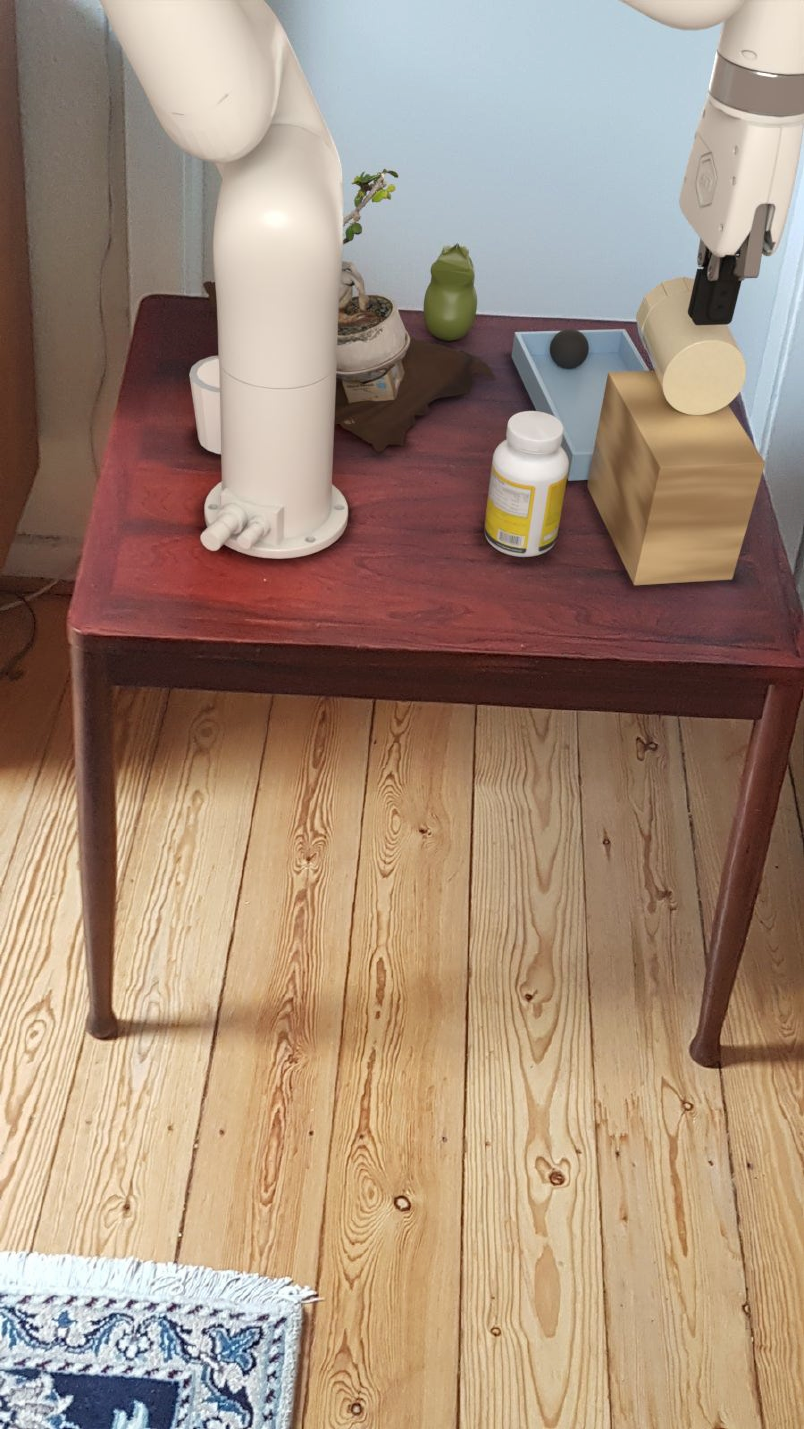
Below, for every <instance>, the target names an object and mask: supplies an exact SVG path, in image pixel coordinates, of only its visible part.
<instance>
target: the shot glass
mask: <svg viewBox="0 0 804 1429" xmlns="http://www.w3.org/2000/svg"><path fill="white" fill-rule="evenodd" d="M188 375H189V382H190V389H191V396H192V405H193V410H194V418H195V424H196V431H197V438H198V439H197V440H198V441H199V444H200V446H201V447H203V448H204V449H205V450H207V451H209V452H211V453H214V454H217V455H221V423H220V376H219V357H218V355H211V356H208V357H205V358H203V359H200V360H198V361H197V362H196V363H195V364H193V365H192V366H191V368H190V371H189V374H188Z"/></svg>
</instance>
